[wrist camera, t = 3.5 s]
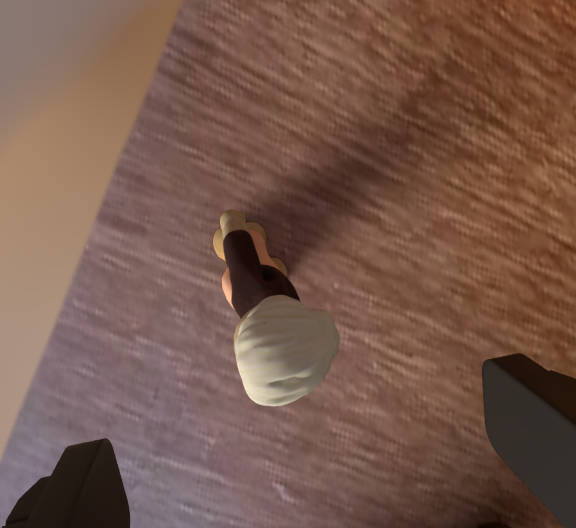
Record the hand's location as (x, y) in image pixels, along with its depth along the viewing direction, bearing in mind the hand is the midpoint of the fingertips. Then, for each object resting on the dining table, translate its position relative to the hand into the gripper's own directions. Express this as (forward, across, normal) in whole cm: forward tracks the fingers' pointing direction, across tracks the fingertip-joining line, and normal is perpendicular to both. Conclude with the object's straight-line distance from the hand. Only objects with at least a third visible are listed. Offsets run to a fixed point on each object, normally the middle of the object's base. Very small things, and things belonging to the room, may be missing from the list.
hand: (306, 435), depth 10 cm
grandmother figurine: (+16, 0, 0) cm, 16 cm away
